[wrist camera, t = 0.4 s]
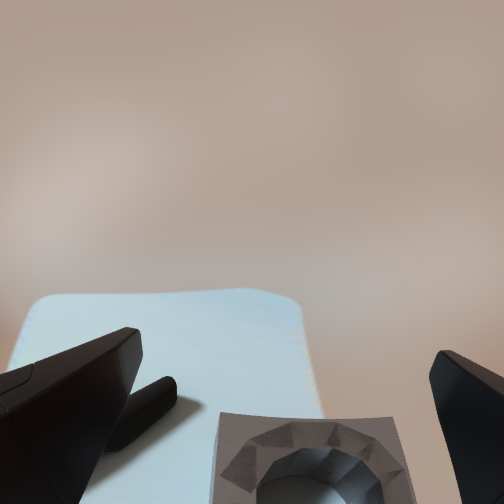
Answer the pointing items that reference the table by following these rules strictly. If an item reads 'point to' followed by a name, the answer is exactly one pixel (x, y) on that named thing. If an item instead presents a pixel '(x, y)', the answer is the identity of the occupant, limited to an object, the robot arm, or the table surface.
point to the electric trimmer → (142, 412)
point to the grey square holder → (310, 457)
